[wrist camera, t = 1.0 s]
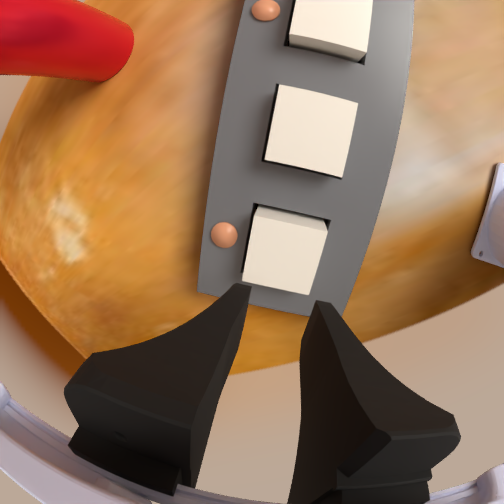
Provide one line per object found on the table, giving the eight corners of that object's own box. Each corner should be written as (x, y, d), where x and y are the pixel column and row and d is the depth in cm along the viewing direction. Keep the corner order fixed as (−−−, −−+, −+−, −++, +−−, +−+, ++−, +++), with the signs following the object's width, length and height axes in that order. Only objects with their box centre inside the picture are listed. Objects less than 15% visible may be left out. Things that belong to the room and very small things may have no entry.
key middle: (346, 109, 15) (358, 103, 12) (333, 170, 16) (342, 177, 14) (281, 93, 15) (279, 84, 12) (269, 155, 17) (264, 159, 14)
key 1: (361, 16, 12) (373, -4, 9) (354, 66, 14) (366, 52, 11) (299, 1, 12) (300, -22, 9) (289, 50, 14) (289, 33, 11)
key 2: (321, 215, 18) (327, 231, 15) (306, 270, 19) (308, 295, 16) (260, 202, 18) (254, 215, 15) (249, 258, 20) (241, 280, 17)
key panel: (402, 8, 12) (415, -5, 9) (335, 302, 21) (339, 323, 18) (260, -25, 12) (256, -43, 10) (206, 274, 21) (195, 293, 19)
